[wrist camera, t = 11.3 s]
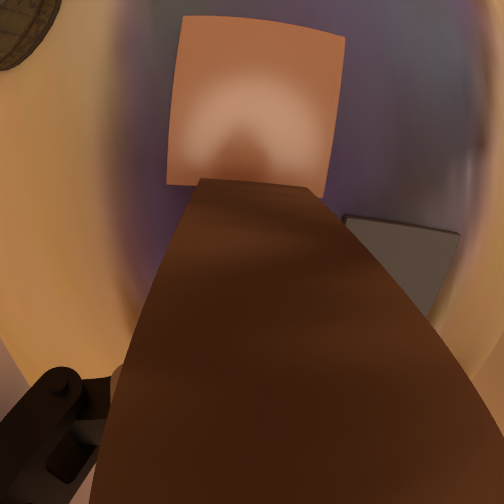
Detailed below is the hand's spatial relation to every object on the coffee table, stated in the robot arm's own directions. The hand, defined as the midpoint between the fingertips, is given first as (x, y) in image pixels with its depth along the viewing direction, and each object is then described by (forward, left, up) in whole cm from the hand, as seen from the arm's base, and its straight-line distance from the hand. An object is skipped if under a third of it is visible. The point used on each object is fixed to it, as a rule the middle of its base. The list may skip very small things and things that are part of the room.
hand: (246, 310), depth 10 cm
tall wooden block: (0, 0, -2) cm, 2 cm away
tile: (0, -2, -9) cm, 9 cm away
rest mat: (-13, +6, -9) cm, 17 cm away
